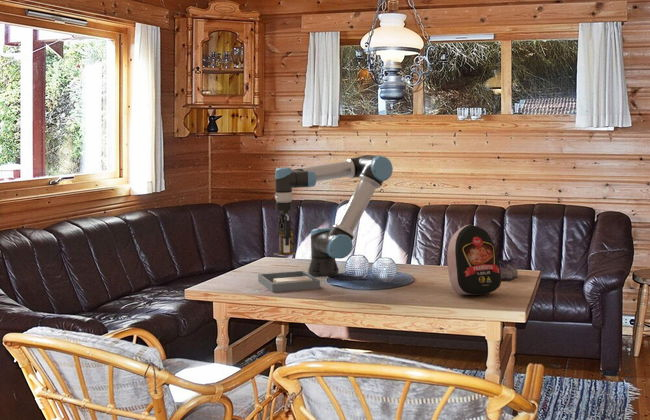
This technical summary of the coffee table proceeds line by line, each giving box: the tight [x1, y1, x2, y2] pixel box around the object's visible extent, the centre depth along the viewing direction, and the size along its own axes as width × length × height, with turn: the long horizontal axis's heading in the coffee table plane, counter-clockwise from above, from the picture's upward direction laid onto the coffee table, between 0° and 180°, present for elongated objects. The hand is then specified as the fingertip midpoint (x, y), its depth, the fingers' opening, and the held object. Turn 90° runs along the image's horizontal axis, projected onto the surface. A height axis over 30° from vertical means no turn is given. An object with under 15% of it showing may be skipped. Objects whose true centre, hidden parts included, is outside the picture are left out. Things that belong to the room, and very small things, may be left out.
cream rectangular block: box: [273, 276, 312, 284], centre depth 395 cm, size 16×8×4 cm, turn 108°
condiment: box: [273, 228, 296, 257], centre depth 405 cm, size 7×8×12 cm
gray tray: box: [257, 270, 321, 293], centre depth 402 cm, size 22×26×4 cm
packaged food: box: [446, 224, 502, 296], centre depth 379 cm, size 22×20×30 cm
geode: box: [499, 257, 519, 281], centre depth 416 cm, size 20×12×10 cm, turn 151°
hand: (284, 251), depth 405 cm, fingers closed on condiment, 6 cm apart
